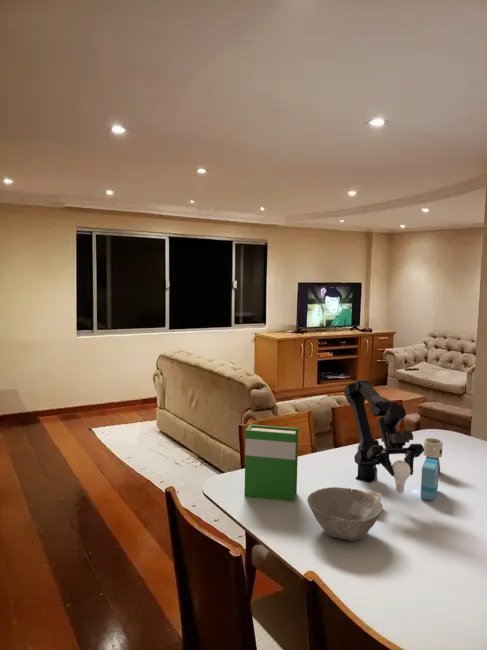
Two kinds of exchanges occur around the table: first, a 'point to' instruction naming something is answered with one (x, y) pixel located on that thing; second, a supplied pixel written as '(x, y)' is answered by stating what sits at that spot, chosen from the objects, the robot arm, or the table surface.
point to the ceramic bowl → (344, 511)
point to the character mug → (433, 448)
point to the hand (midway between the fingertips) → (402, 475)
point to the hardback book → (271, 462)
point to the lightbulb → (400, 474)
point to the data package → (429, 479)
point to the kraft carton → (373, 494)
